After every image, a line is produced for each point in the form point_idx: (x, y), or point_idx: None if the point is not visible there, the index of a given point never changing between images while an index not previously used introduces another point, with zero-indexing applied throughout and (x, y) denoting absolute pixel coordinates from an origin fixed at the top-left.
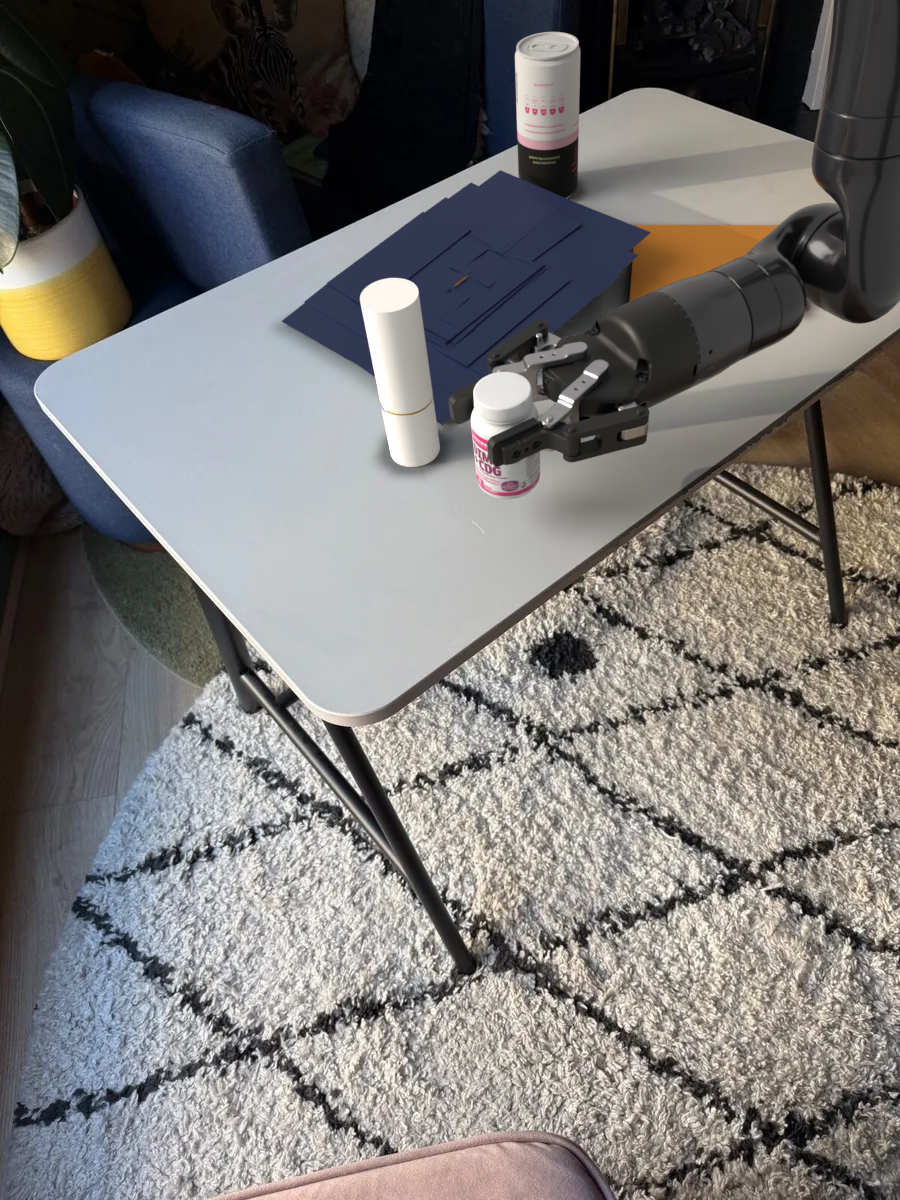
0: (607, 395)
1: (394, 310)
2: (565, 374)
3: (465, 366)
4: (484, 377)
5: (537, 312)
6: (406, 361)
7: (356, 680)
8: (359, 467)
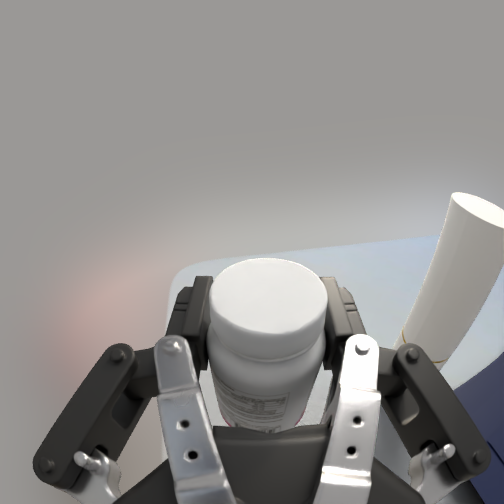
0: (142, 484)
1: (455, 200)
2: (279, 458)
3: (488, 439)
4: (322, 284)
5: None
6: (432, 277)
7: (194, 277)
8: (391, 337)
